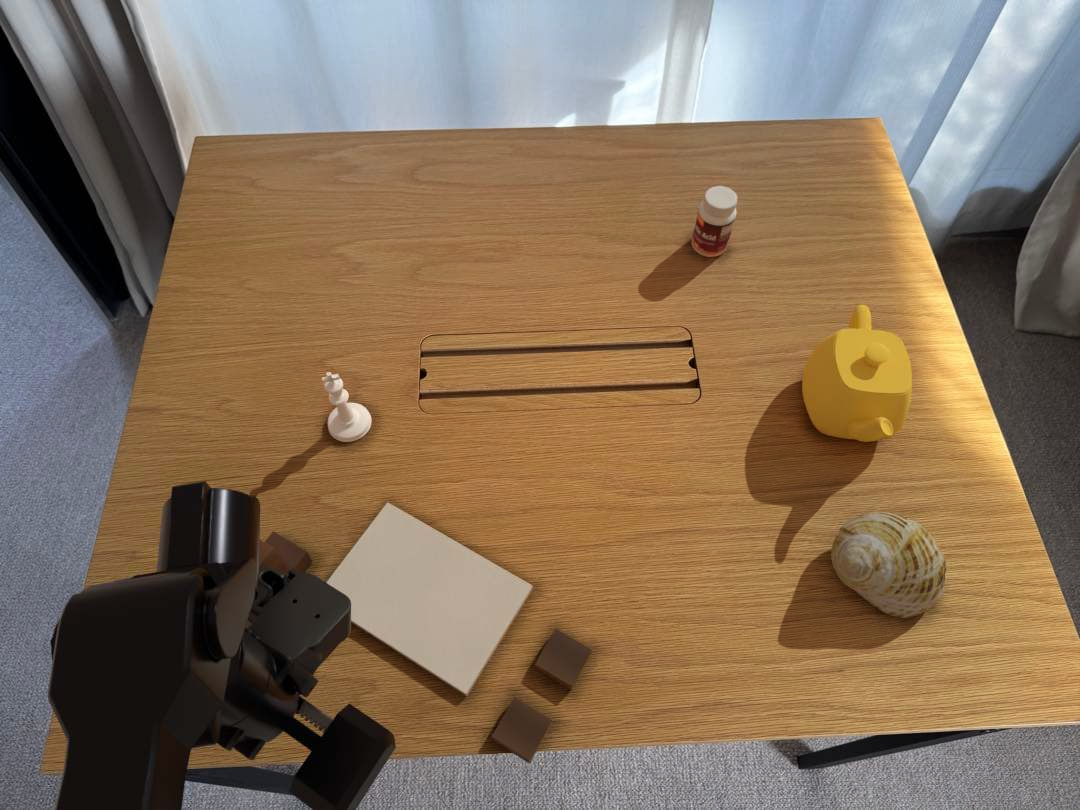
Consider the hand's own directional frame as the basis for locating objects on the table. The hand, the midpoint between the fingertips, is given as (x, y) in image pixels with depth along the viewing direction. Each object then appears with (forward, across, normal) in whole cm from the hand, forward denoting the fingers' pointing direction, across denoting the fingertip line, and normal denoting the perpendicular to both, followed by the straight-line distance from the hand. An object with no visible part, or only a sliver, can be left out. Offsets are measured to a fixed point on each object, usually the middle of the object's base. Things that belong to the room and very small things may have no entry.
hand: (294, 725), depth 59 cm
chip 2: (+12, -14, -17) cm, 25 cm away
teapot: (+12, -28, -58) cm, 66 cm away
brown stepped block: (+12, +15, -8) cm, 21 cm away
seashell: (+12, -37, -41) cm, 57 cm away
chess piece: (+12, +20, -28) cm, 37 cm away
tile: (+12, +1, -16) cm, 20 cm away
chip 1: (+12, -14, -10) cm, 21 cm away
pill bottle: (+12, -4, -74) cm, 75 cm away
